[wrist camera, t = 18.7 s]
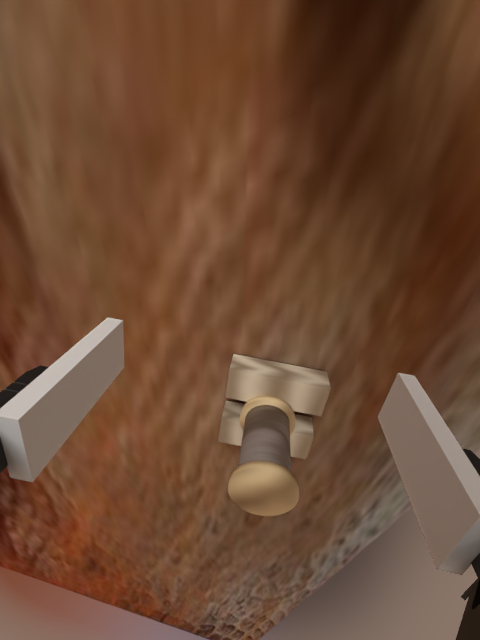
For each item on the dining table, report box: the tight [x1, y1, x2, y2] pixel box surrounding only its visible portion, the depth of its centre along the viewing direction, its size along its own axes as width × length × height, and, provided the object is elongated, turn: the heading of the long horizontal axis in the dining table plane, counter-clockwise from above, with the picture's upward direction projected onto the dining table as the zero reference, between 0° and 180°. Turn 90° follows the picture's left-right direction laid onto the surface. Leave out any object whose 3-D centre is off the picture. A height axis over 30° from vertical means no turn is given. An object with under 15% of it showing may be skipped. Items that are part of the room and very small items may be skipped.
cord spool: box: [228, 396, 299, 516], centre depth 40 cm, size 8×8×12 cm
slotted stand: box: [218, 354, 331, 459], centre depth 47 cm, size 14×14×4 cm
